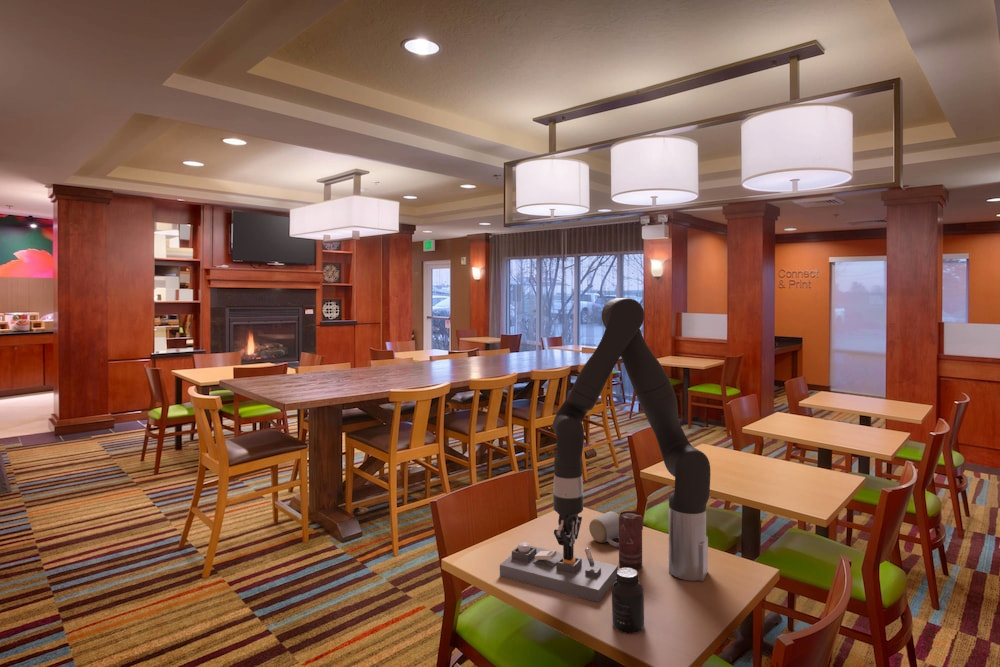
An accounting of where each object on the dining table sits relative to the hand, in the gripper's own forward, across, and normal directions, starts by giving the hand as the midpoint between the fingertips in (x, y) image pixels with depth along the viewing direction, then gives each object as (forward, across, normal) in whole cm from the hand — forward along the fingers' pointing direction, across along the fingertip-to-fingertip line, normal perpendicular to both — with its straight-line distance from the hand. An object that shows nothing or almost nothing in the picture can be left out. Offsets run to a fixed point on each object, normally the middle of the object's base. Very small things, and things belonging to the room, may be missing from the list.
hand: (568, 558), depth 143 cm
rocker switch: (+1, 0, +6) cm, 6 cm away
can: (+6, +15, -12) cm, 20 cm away
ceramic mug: (+6, +28, -1) cm, 28 cm away
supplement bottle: (+6, -13, -20) cm, 24 cm away
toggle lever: (+1, 0, -7) cm, 7 cm away
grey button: (+1, 0, +13) cm, 13 cm away
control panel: (+5, 0, +3) cm, 6 cm away
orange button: (+2, 0, 0) cm, 2 cm away
